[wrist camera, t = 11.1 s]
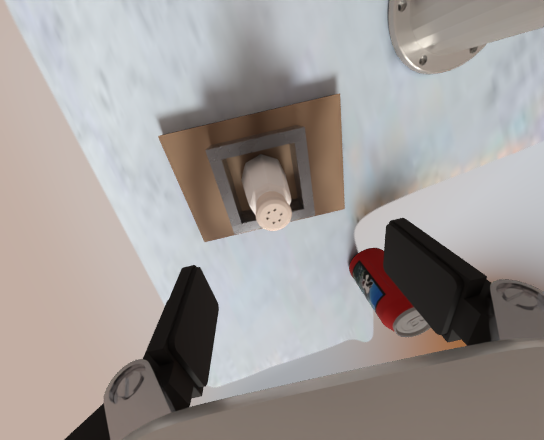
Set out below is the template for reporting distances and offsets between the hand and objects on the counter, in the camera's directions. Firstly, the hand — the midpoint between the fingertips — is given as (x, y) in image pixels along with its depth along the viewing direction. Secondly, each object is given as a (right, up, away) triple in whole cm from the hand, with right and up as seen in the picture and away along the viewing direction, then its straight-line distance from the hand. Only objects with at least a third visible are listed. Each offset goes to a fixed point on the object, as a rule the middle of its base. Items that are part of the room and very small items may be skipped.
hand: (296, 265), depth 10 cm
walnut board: (-2, +8, +16) cm, 19 cm away
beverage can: (+15, -5, +26) cm, 30 cm away
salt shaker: (-2, +8, +15) cm, 17 cm away
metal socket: (-2, +8, +15) cm, 17 cm away
